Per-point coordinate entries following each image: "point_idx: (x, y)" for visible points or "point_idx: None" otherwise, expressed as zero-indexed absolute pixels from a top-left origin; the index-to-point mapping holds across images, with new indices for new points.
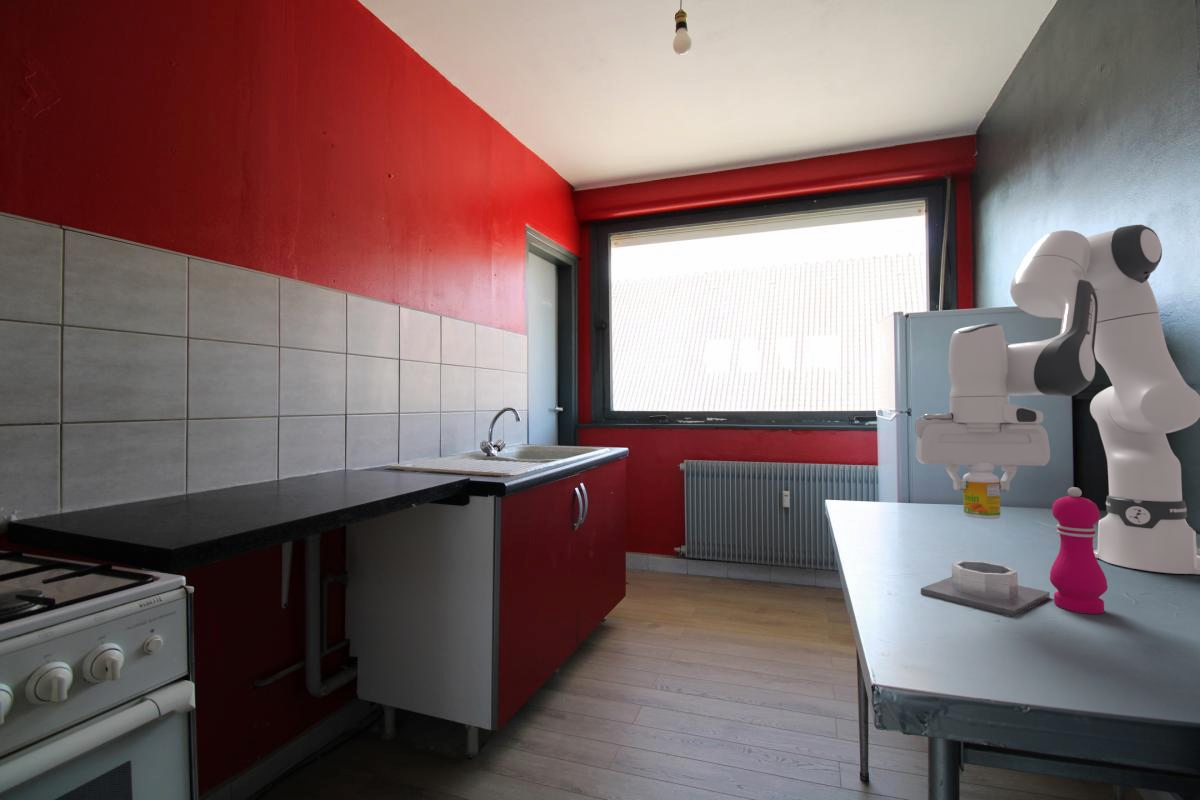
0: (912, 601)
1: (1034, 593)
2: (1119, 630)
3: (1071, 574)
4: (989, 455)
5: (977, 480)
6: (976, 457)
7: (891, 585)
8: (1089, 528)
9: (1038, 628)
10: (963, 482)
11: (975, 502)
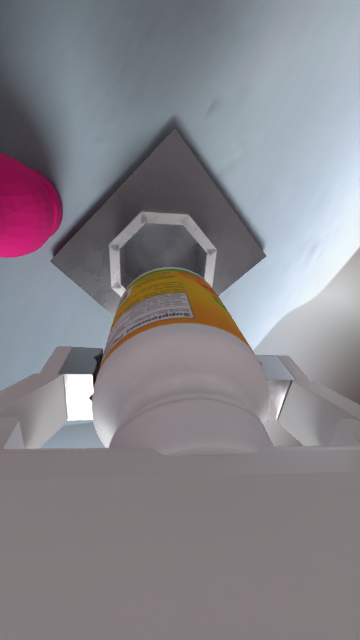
0: (299, 209)
1: (81, 248)
2: (9, 61)
3: (16, 170)
4: (171, 554)
5: (240, 344)
6: (311, 511)
7: (283, 294)
8: None
9: (162, 60)
10: (276, 373)
11: (219, 299)
